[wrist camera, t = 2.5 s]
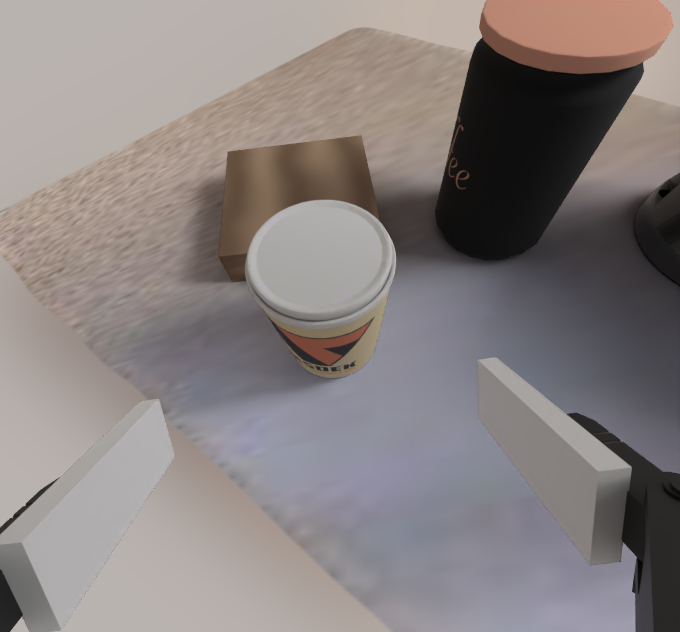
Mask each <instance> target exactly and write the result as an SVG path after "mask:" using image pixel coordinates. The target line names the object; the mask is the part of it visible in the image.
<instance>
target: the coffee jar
mask: <svg viewBox="0 0 680 632" xmlns="http://www.w3.org/2000/svg"><path fill="white" fill-rule="evenodd" d="M479 28H480V31H481V34H482V39H480V40H479V42H477V44H476V46H475V49H474V51H473V54H472V57H471V60H470V64H469V69H468V73H467V77H466V81H465V86H464V90H463V94H462V99H461V103H460V107H459V111H458V116H457V120H456V124H455V129H454V133H453V137H452V142H451V146H450V150H449V154H448V159H447V163H446V167H445V172H444V176H443V180H442V185H441V189H440V193H439V197H438V202H437V206H436V210H435V214H436V220H437V225H438V227H439V229H440V231H441V232H442V234H443V236H444V237H445V238H446V240H447V241H448V242H449V243H450V244H451V245H452V246H453V247H455V248H456V249H457V250H458V251H461V252H463V253H465V254H467V255H469V256H471V257H476V258H480V259H485V260H498V259H504V258H508V257H511V256H515V255H518V254H521V253H523V252H525V251H526V250H528V249H529V248H531V247H532V246H534V245H535V244H536V243H537V242H538V240H539V239H540V237H541V235H542V234H543V232H544V231H545V229H546V228H547V226H548V224H549V223H550V221H551V220H552V218H553V217H554V215H555V213H556V212H557V210H558V209H559V207H560V206H561V204H562V202H563V201H564V199H565V198H566V196H567V195H568V193H569V191H570V190H571V188H572V187H573V185H574V184H575V182H576V180H577V179H578V177H579V176H580V174H581V173H582V171H583V169H584V168H585V166H586V165H587V163H588V161H589V160H590V158H591V157H592V155H593V154H594V152H595V150H596V149H597V147H598V146H599V144H600V143H601V141H602V139H603V138H604V136H605V135H606V133H607V132H608V130H609V128H610V127H611V125H612V124H613V122H614V121H615V119H616V117H617V116H618V114H619V113H620V111H621V110H622V108H623V106H624V105H625V103H626V102H627V100H628V99H629V97H630V95H631V94H632V92H633V91H634V89H635V87H636V86H637V84H638V83H639V81H640V80H641V78H642V75H643V72H644V69H643V62H644V61H645V60H647V59H648V58H650V57H652V56H654V55H655V53H656V52H657V51H658V49H659V48H660V47H661V45H662V44H663V43H664V41H665V40H666V38H667V36H668V35H669V33H670V32H671V30H672V28H673V21H672V17H671V12H670V11H668V9H667V8H666V7H665V6H664V5H663V4H662V3H661V2H660V1H659V0H487V1H486V3H485V5H484V8H483V11H482V14H481V20H480V26H479Z"/></svg>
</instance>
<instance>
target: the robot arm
mask: <svg viewBox="0 0 680 632" xmlns="http://www.w3.org/2000/svg"><path fill="white" fill-rule="evenodd" d="M634 227H635V233H636V237H637V240H638V242H639V244H640V246H641V248H642V249H643V251H644V253H645V254H646V255H647V257H648V258H649V259H650V260H651V261H652V262H653V264H654V265H655V266H656V267H657V268H659V269H660V270H661V271H662V272H663V273H664V274H665V275H667V276H668V277H669V278H671V279H672V280H673V281H675V282H676V283H678V284H680V173H678V174H677V175H675V176H673V177H672V178H670V179H669V180H667V181H666V182H664V183H663V184H662V185H660V186H659V187H658V188H657V189H656V190H655V191H654V192H653V193H652V194H651V195H650V196H649V197H648V199H647V200H646V201H645V202H644V203H643V204H642V205H641V207H640V208H639V210H638V211H637V214H636V217H635V224H634ZM478 419H479V420H480V422H481V423H482V424H483V426H484V427H485V428H486V429H487V431H488V432H489V433H490V435H491V436H492V437H493V439H494V440H495V441H496V443H497V444H498V445H499V447H500V448H501V449H502V451H503V452H504V453H505V455H506V456H507V457H508V458H509V460H510V461H511V462H512V464H513V465H514V466H515V468H516V469H517V470H518V472H519V473H520V474H521V476H522V477H523V478H524V480H525V481H526V482H527V483H528V485H529V486H530V487H531V489H532V490H533V491H534V493H535V494H536V495H537V497H538V498H539V499H540V501H541V502H542V503H543V505H544V506H545V507H546V509H547V510H548V511H549V512H550V514H551V515H552V516H553V518H554V519H555V520H556V522H557V523H558V524H559V526H560V527H561V528H562V530H563V531H564V532H565V534H566V535H567V536H568V538H569V539H570V540H571V541H572V543H573V544H574V545H575V547H576V548H577V549H578V551H579V552H580V553H581V555H582V556H583V557H584V559H585V560H586V561H587V563H588V564H589V565H598V564H606V563H614V562H621V554H622V546H623V542H624V543H625V544H626V546H627V547H628V548H629V549H630V550H631V551H632V552H633V553H634V554H635V555H636V556H637V559H636V566H635V574H634V581H633V589H632V592H634V593H635V605H636V632H680V474H678V473H672V472H662V471H661V470H660V469H658V468H657V467H656V466H654V465H653V464H652V463H650V462H649V461H648V460H646V459H645V458H644V457H642V456H641V455H640V454H638V453H637V452H636V451H634V450H633V449H632V448H630V447H629V446H628V445H626V444H625V443H624V442H620V439H618V438H617V437H616V436H614V435H613V434H612V433H609V432H608V430H606V429H605V428H604V427H602V426H601V425H600V424H598V423H597V422H596V421H594V420H592V419H590V418H587V417H585V416H583V415H581V414H578V413H570V414H566V413H564V412H563V411H562V410H561V409H559V408H558V407H557V406H556V405H554V404H553V403H552V402H551V401H550V400H548V399H547V398H546V397H545V396H543V395H542V394H541V393H540V392H538V391H537V390H536V389H535V388H533V387H532V386H531V385H530V384H529V383H527V382H526V381H525V380H524V379H522V378H521V377H520V376H519V375H517V374H516V373H515V372H514V371H512V370H511V369H510V368H509V367H508V366H506V365H505V364H504V363H503V362H501V361H500V360H499V359H498V358H496V357H494V358H486V359H478ZM174 457H175V454H174V451H173V447H172V444H171V440H170V437H169V433H168V429H167V426H166V422H165V419H164V415H163V412H162V408H161V404H160V401H159V399H152V400H144V401H140V402H139V403H138V404H137V405H136V406H135V407H133V408H132V409H131V410H130V411H129V412H128V413H127V414H126V415H125V416H124V417H123V418H122V419H121V420H120V421H119V422H118V423H117V424H116V425H115V426H114V427H113V428H111V429H110V430H109V431H108V432H107V433H106V434H105V435H104V436H103V437H102V438H101V439H100V440H99V441H98V442H97V443H96V444H95V445H94V446H93V447H91V449H89V450H88V451H87V452H86V453H85V454H84V455H83V456H82V457H81V458H80V459H79V460H78V461H77V462H76V463H75V464H74V465H73V466H72V467H71V468H69V469H68V470H67V471H66V472H65V473H64V474H63V475H62V476H61V477H59V478H58V479H56V480H55V481H53V482H52V483H50V484H49V485H47V486H46V487H44V488H43V489H41V490H40V491H39V492H38V493H37V494H36V495H35V496H34V497H33V498H31V499H30V500H29V501H28V502H27V503H26V506H24V507H22V508H21V509H20V510H19V511H17V512H16V513H15V514H14V516H13V518H10V519H9V520H8V521H7V522H6V523H5V524H4V525H3V526H1V528H0V632H10V631H11V630H12V628H13V627H14V626H15V624H16V623H17V622H18V621H19V619H20V618H21V617H23V619H24V621H25V623H26V625H27V628H28V630H29V632H51V631H59V630H62V629H63V627H64V626H65V624H66V623H67V621H68V619H69V618H70V616H71V615H72V613H73V612H74V610H75V609H76V607H77V606H78V604H79V603H80V601H81V600H82V598H83V596H84V595H85V593H86V592H87V590H88V589H89V587H90V586H91V584H92V582H93V581H94V580H95V578H96V577H97V575H98V574H99V572H100V570H101V569H102V567H103V566H104V564H105V563H106V561H107V560H108V558H109V557H110V555H111V553H112V552H113V551H114V549H115V547H116V546H117V544H118V543H119V541H120V540H121V538H122V537H123V535H124V534H125V532H126V531H127V529H128V528H129V526H130V525H131V523H132V521H133V520H134V518H135V517H136V515H137V513H138V512H139V511H140V509H141V508H142V506H143V505H144V503H145V501H146V500H147V498H148V497H149V495H150V494H151V492H152V491H153V489H154V488H155V486H156V485H157V483H158V482H159V480H160V478H161V477H162V475H163V473H164V472H165V471H166V469H167V468H168V466H169V465H170V463H171V462H172V460H173V459H174Z"/></svg>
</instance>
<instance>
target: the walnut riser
mask: <svg viewBox="0 0 680 632" xmlns="http://www.w3.org/2000/svg"><path fill="white" fill-rule="evenodd" d="M313 200H336V201H342V202H346V203H350V204H353V205H356V206H358V207H360V208H362V209H364V210H366V211H368V212H369V213H370V214H372V215H373V216H374V217H375V218H377V219H378V220H379V222H380V219H379V214H378V210H377V205H376V201H375V196H374V191H373V187H372V182H371V177H370V173H369V168H368V164H367V159H366V154H365V150H364V145H363V140H362V136H353V137H345V138H337V139H328V140H320V141H312V142H304V143H296V144H287V145H279V146H271V147H263V148H255V149H246V150H238V151H230V152H228V156H227V167H226V178H225V189H224V200H223V212H222V223H221V234H220V245H219V256H218V257H219V258H220V260H221V262H222V264H223V265H224V267H225V269H226V271H227V272H228V274H229V276H230V278H231V279H232V281H233V282H238V281H246V276H245V263H246V258H247V254H248V249H249V246H250V244H251V241H252V239H253V237H254V236H255V234H256V233H257V231H258V230H259V229H260V228H261V226H262V225H263V224H264V223H265V222H266V221H267V220H269V219H270V218H271V217H273V216H274V215H275V214H277V213H278V212H280V211H282V210H284V209H286V208H288V207H290V206H293V205H296V204H299V203H302V202H307V201H313Z"/></svg>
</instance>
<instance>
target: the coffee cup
mask: <svg viewBox="0 0 680 632" xmlns="http://www.w3.org/2000/svg"><path fill="white" fill-rule="evenodd" d="M395 270H396V253H395V248H394V245H393V242H392V240H391V238H390V236H389V234H388V233H387V231H386V230H385V228H384V227H383V225H382V224H381V223H380V222H379V220H378V219H377V218H375V217H374V216H373V215H372V214H370V213H369V212H368V211H366V210H364V209H362V208H360V207H358V206H356V205H353V204H350V203H346V202H342V201H336V200H313V201H307V202H302V203H299V204H296V205H293V206H290V207H288V208H286V209H284V210H282V211H280V212H278V213H277V214H275V215H274V216H273V217H271V218H270V219H269V220H267V221H266V222H265V223H264V224H263V225H262V226H261V228H260V229H259V230H258V231H257V233H256V234H255V236H254V237H253V239H252V241H251V244H250V246H249V249H248V254H247V258H246V263H245V276H246V281H247V285H248V287H249V290H250V292H251V294H252V296H253V297H254V299H255V300H256V302H257V303H258V304H259V306H260V307H261V308H262V309H263V310H264V311H265V313H266V315H267V316H268V318H269V319H270V321H271V322H272V324H273V325H274V327H275V328H276V330H277V332H278V333H279V335H280V336H281V338H282V339H283V341H284V342H285V344H286V345H287V347H288V348H289V350H290V351H291V353H292V354H293V356H294V357H295V358H296V360H297V361H298V362H299V363H300V365H301V366H302V367H304V368H305V369H306V370H307V371H309V372H311V373H313V374H315V375H318V376H321V377H326V378H340V377H345V376H348V375H351V374H353V373H355V372H357V371H358V370H360V369H361V368H362V367H363V366H365V365H366V363H367V362H368V361H369V360H370V358H371V357H372V355H373V353H374V351H375V348H376V345H377V341H378V337H379V333H380V329H381V324H382V320H383V316H384V312H385V307H386V303H387V298H388V293H389V289H390V286H391V284H392V281H393V278H394V274H395Z"/></svg>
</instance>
